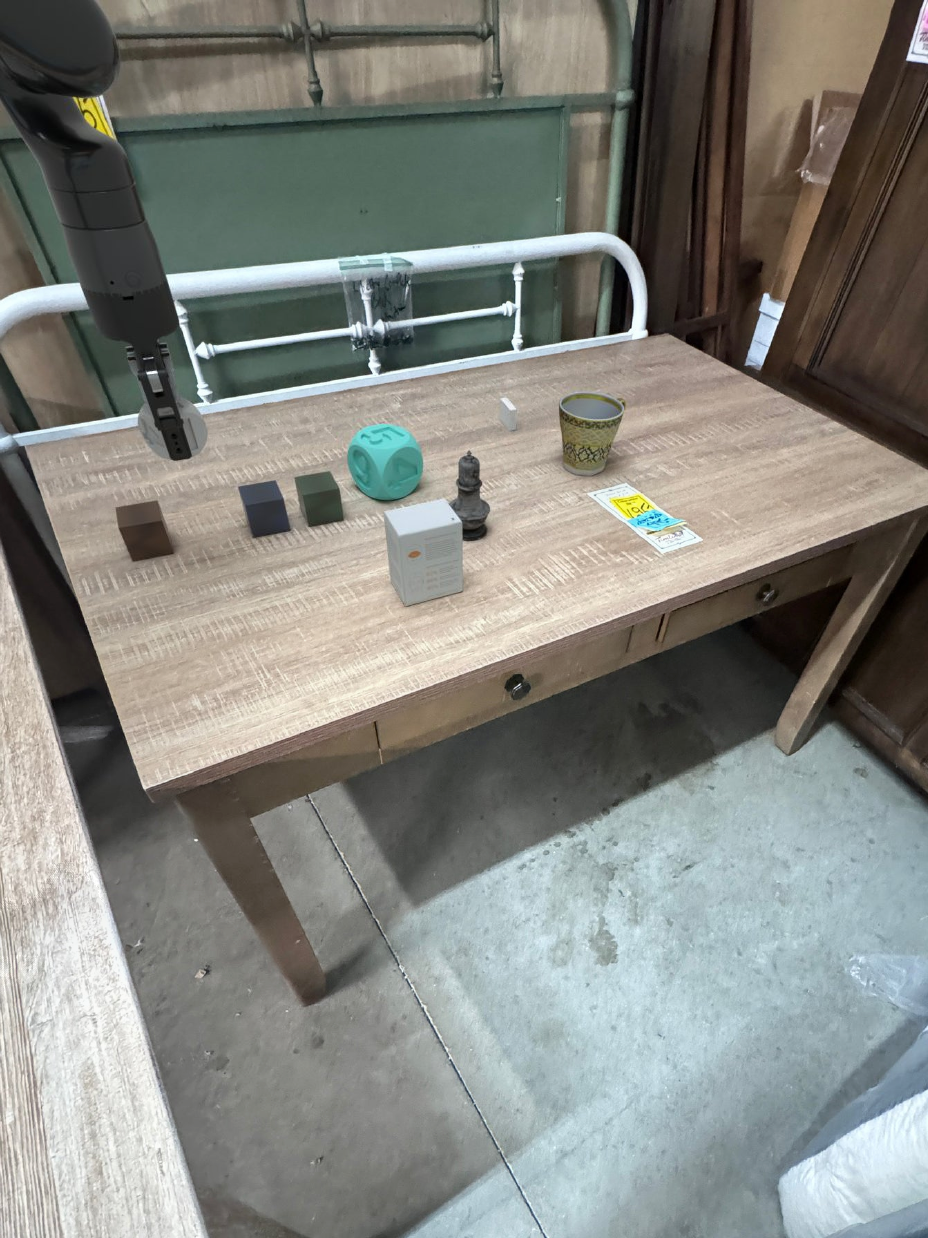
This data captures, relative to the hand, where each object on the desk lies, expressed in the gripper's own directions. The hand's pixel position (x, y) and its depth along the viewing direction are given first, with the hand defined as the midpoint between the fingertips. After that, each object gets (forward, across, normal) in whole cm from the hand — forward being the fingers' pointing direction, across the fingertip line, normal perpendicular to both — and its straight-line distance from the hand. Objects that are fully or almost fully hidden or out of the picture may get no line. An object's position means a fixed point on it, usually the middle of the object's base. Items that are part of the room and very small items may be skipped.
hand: (177, 442), depth 76 cm
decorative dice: (+17, -11, +26) cm, 33 cm away
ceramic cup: (+17, -7, +59) cm, 62 cm away
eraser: (+17, -24, +52) cm, 60 cm away
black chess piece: (+17, +4, +33) cm, 37 cm away
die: (+1, 0, 0) cm, 1 cm away
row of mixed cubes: (+17, -7, +4) cm, 18 cm away
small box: (+17, +14, +23) cm, 32 cm away
